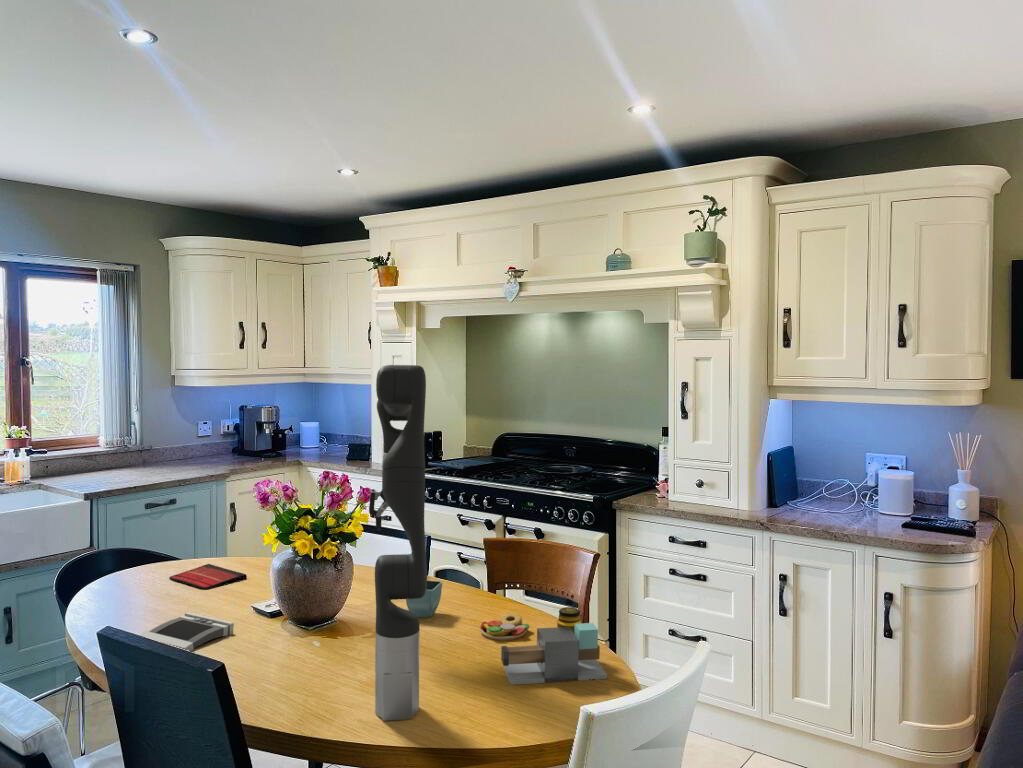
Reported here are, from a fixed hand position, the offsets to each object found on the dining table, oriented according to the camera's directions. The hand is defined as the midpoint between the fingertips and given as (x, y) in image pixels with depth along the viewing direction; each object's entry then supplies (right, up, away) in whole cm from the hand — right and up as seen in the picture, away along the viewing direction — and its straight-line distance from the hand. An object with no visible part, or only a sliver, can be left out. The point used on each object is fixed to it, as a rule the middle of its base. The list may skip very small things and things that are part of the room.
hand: (396, 529), depth 205 cm
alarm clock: (-55, -29, -2) cm, 62 cm away
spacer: (+49, -24, -21) cm, 58 cm away
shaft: (+40, -27, -23) cm, 53 cm away
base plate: (+41, -30, -22) cm, 56 cm away
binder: (-70, -27, +50) cm, 90 cm away
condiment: (+45, -30, -11) cm, 55 cm away
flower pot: (+5, -28, +18) cm, 34 cm away
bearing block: (+42, -30, -22) cm, 56 cm away
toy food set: (+29, -29, +4) cm, 41 cm away
